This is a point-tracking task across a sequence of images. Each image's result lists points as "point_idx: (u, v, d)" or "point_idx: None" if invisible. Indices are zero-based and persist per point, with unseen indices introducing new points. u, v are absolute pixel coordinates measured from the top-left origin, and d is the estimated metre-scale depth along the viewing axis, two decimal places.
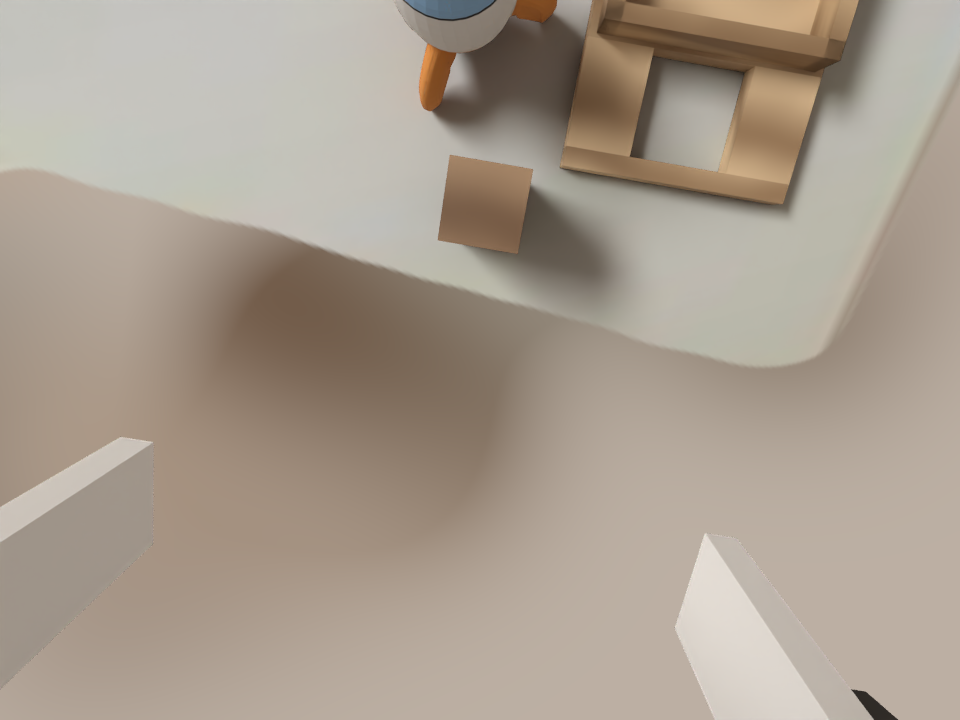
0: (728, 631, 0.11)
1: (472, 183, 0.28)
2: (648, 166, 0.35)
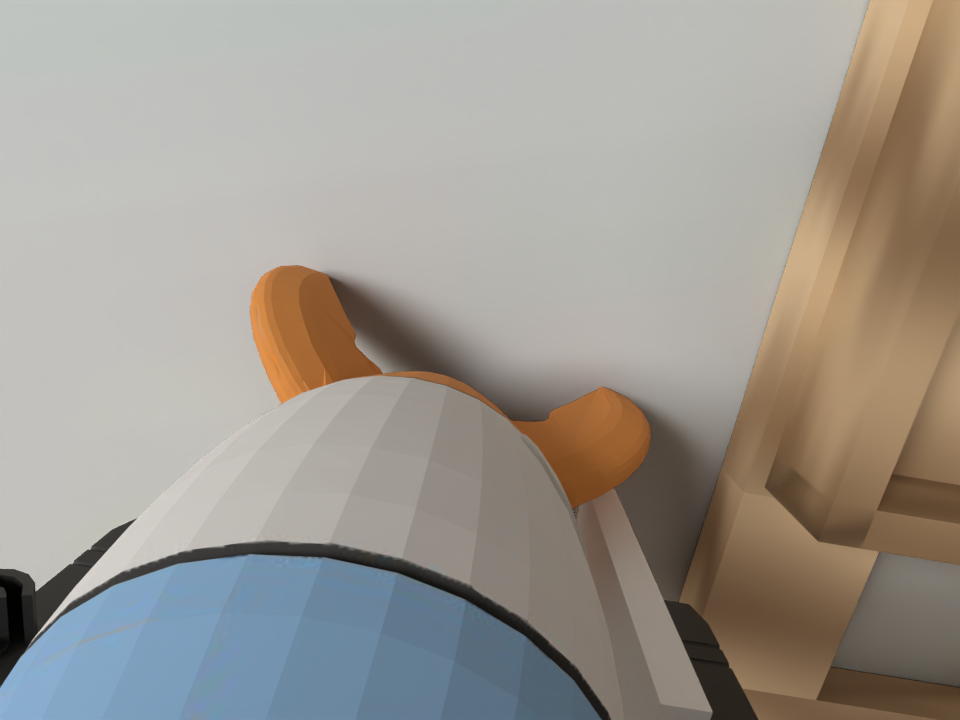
0: (590, 561, 0.12)
1: None
2: (855, 715, 0.16)
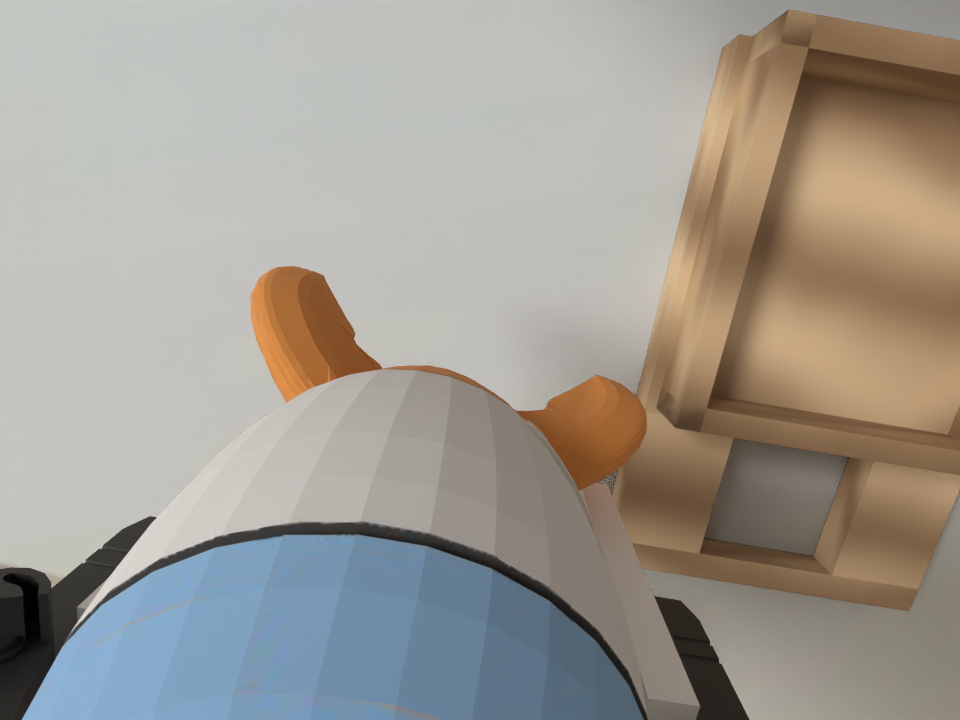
0: None
1: None
2: (725, 564, 0.25)
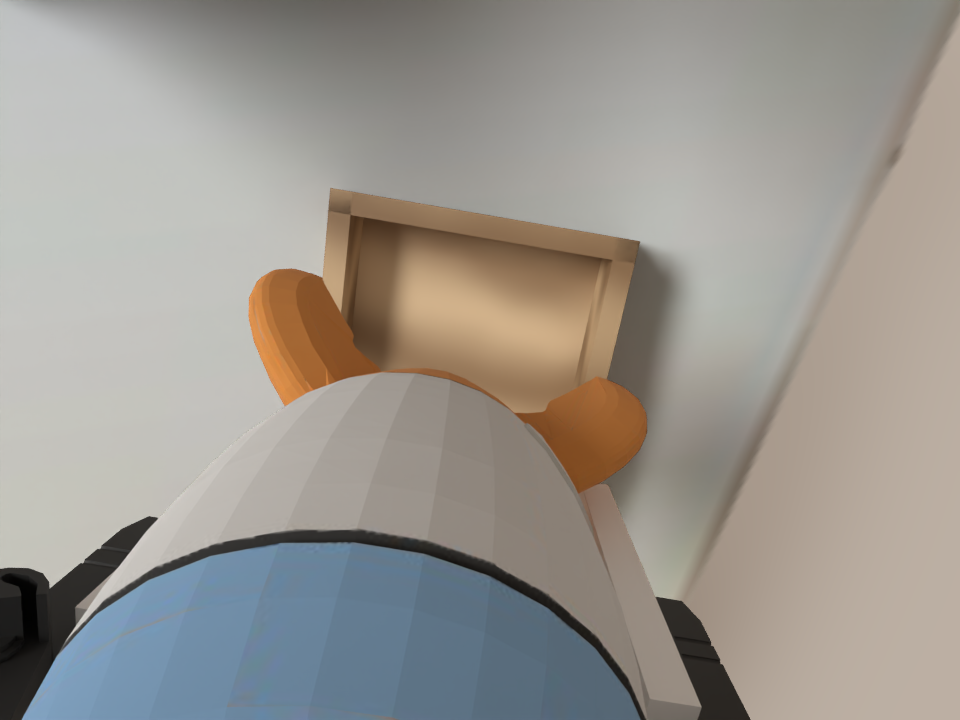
0: None
1: None
2: None
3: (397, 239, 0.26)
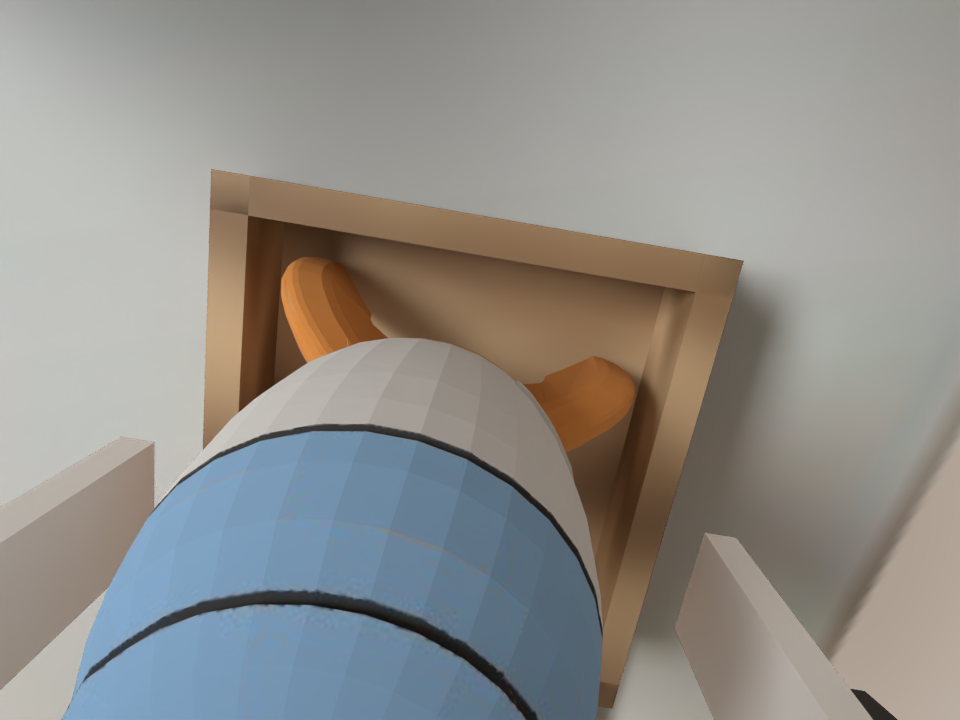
0: (727, 630, 0.11)
1: None
2: None
3: (339, 254, 0.17)
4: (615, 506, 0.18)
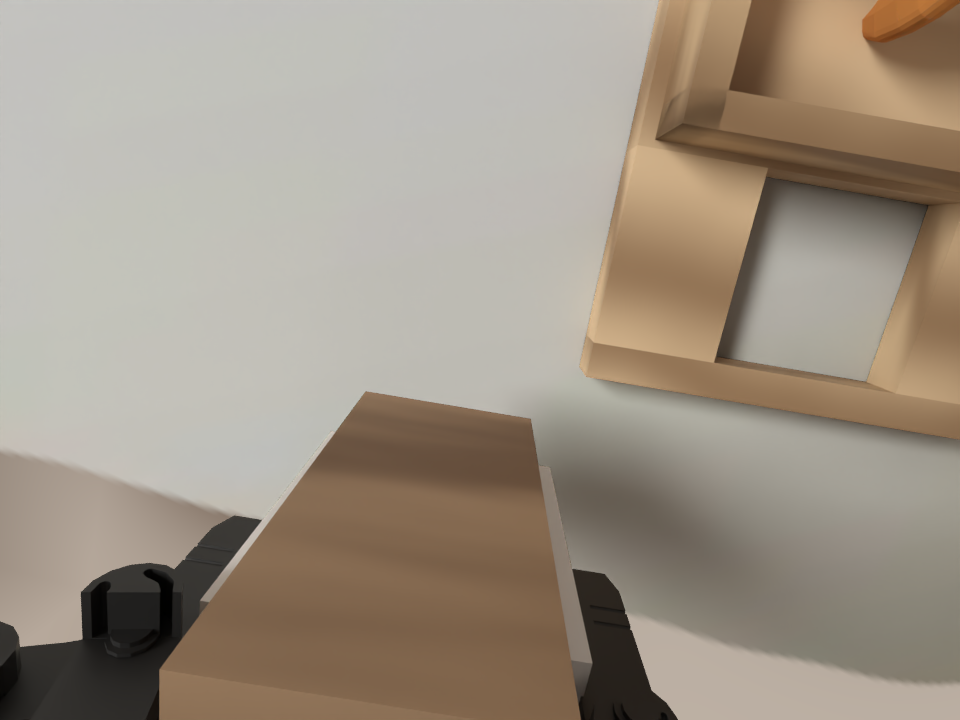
0: None
1: None
2: (749, 379, 0.18)
3: None
4: None
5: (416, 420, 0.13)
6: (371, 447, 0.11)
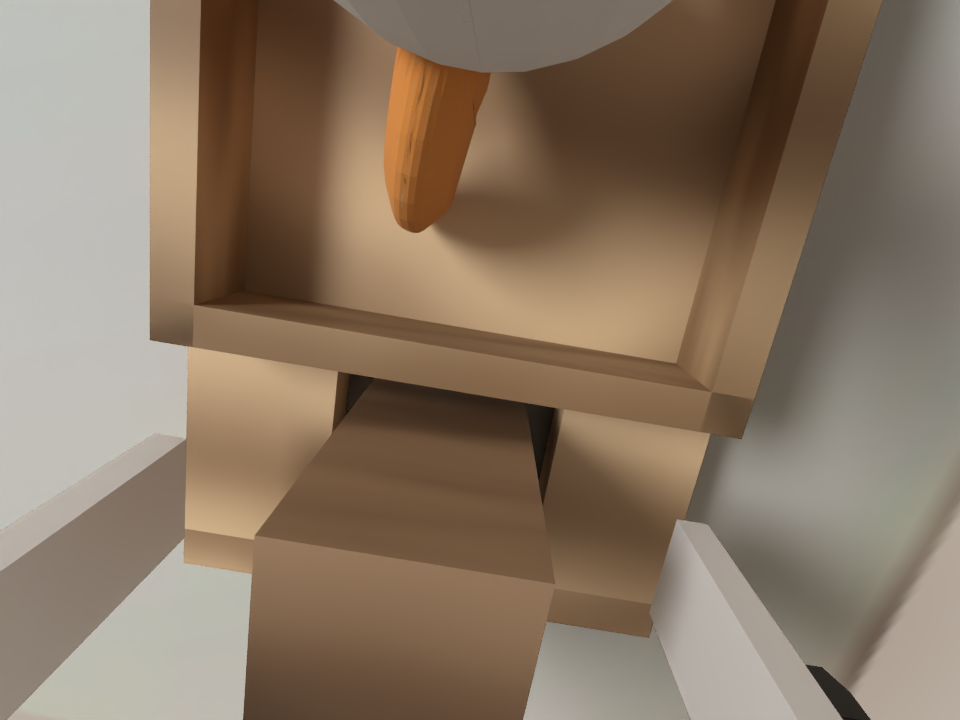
0: (695, 612, 0.11)
1: (340, 619, 0.08)
2: None
3: None
4: (745, 153, 0.12)
5: (426, 390, 0.15)
6: (390, 408, 0.13)
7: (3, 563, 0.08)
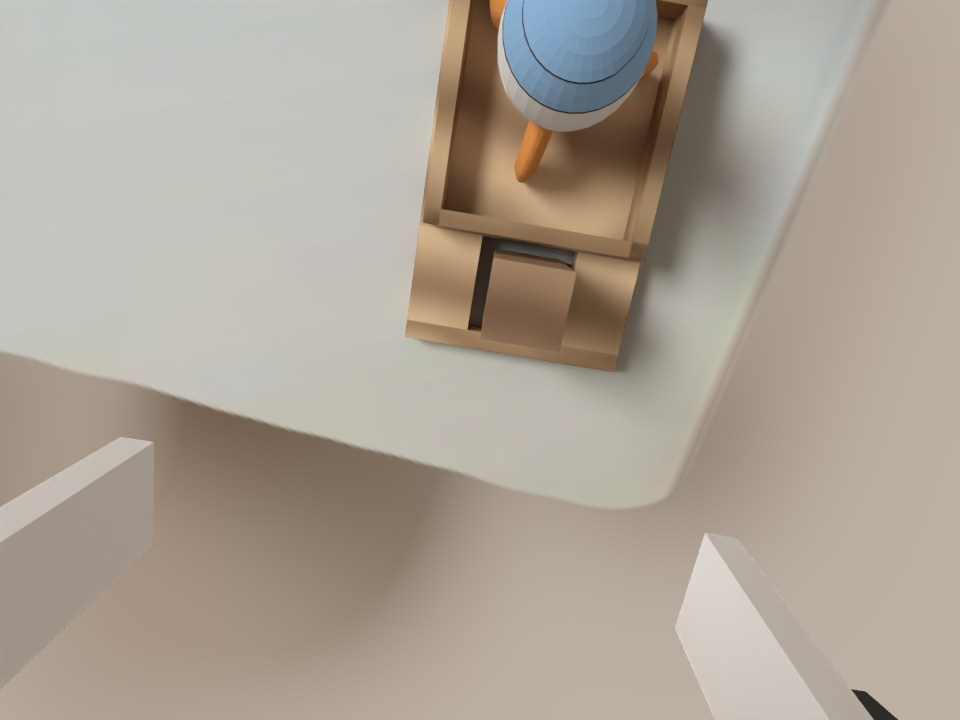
0: (728, 631, 0.11)
1: (515, 284, 0.29)
2: None
3: None
4: (645, 153, 0.33)
5: (517, 253, 0.36)
6: (508, 253, 0.34)
7: None
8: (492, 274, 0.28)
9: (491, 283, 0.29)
